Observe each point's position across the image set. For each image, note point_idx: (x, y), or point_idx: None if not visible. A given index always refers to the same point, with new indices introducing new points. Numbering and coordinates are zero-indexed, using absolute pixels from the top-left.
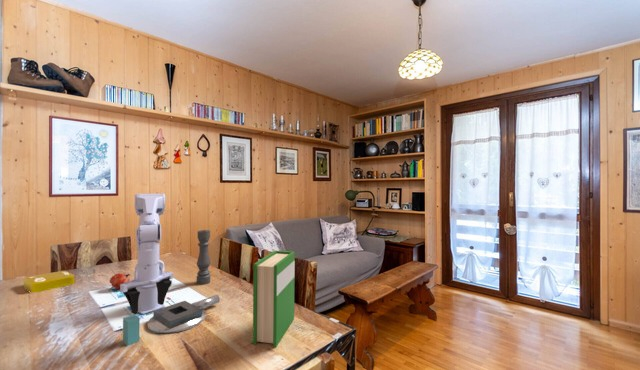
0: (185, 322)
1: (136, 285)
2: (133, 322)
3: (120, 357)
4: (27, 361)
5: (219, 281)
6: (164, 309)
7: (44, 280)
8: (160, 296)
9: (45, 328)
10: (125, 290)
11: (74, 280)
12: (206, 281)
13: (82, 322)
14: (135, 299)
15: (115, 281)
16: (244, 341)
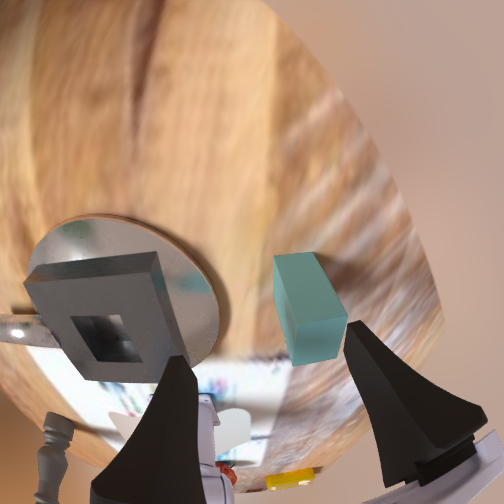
0: (91, 259)
1: (451, 495)
2: (321, 312)
3: (358, 190)
4: (436, 321)
5: (28, 402)
6: (152, 372)
7: (300, 481)
8: (184, 414)
9: (361, 407)
10: (492, 442)
11: (266, 480)
12: (51, 417)
13: (318, 409)
14: (424, 393)
15: (229, 477)
16: (9, 3)
